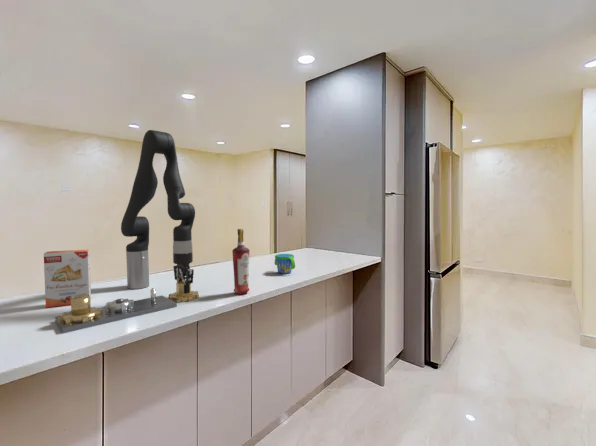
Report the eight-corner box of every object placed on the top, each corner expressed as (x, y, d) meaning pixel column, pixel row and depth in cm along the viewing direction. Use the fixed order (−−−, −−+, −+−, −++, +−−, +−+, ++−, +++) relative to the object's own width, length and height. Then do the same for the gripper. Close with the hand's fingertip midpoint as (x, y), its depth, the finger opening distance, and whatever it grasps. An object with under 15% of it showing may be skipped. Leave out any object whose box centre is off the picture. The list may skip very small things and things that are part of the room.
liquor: (243, 289, 143) (242, 228, 141) (253, 293, 138) (252, 229, 136) (229, 293, 138) (228, 229, 136) (239, 296, 133) (238, 230, 131)
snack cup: (300, 274, 175) (300, 255, 175) (284, 276, 169) (284, 257, 169) (284, 269, 188) (284, 252, 187) (269, 271, 182) (269, 254, 181)
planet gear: (163, 297, 131) (163, 282, 130) (190, 292, 139) (190, 277, 139) (175, 304, 122) (175, 287, 122) (204, 297, 131) (204, 282, 130)
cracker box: (45, 308, 118) (42, 253, 117) (49, 304, 123) (46, 251, 122) (89, 303, 124) (87, 250, 123) (91, 299, 130) (89, 248, 129)
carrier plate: (55, 321, 105) (54, 297, 104) (162, 299, 129) (161, 279, 129) (62, 333, 95) (61, 307, 94) (176, 306, 119) (176, 285, 119)
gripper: (166, 250, 132) (167, 290, 133) (181, 254, 122) (182, 297, 123) (183, 248, 137) (184, 287, 138) (199, 252, 127) (200, 293, 128)
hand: (183, 291), depth 131 cm, fingers closed on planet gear, 5 cm apart
